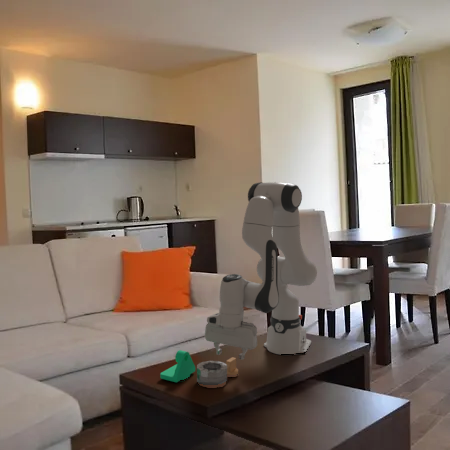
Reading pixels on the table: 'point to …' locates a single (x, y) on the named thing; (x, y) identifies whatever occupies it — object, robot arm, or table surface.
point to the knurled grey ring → (211, 373)
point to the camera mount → (179, 368)
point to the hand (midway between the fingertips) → (230, 356)
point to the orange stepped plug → (231, 366)
